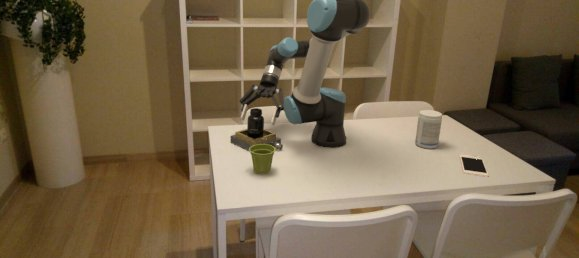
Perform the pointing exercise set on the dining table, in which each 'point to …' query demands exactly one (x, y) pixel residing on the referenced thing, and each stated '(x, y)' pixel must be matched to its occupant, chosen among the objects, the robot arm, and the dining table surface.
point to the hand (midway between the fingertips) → (257, 121)
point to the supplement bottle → (255, 124)
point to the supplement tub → (428, 129)
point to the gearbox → (247, 142)
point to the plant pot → (262, 157)
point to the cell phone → (473, 165)
